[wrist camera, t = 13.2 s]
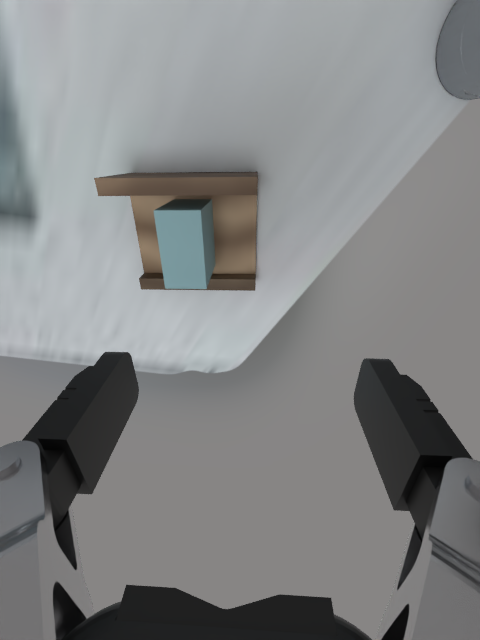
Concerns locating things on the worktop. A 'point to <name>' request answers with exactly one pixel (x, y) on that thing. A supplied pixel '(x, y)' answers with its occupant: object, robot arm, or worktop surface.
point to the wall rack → (228, 220)
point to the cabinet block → (186, 242)
